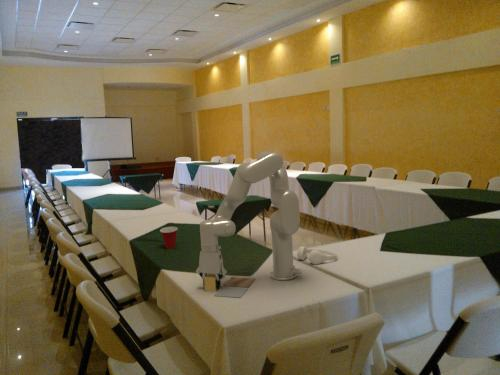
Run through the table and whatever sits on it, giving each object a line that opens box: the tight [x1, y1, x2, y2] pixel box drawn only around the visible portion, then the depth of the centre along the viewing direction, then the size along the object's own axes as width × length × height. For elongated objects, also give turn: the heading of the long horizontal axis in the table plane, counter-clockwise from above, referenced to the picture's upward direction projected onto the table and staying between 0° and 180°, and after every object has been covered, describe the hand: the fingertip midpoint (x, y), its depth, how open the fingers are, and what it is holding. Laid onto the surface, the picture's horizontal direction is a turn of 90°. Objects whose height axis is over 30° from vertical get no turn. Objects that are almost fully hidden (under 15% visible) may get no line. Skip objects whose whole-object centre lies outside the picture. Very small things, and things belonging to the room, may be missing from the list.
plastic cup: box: [159, 226, 179, 250], centre depth 258 cm, size 11×11×12 cm
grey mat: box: [213, 285, 249, 299], centre depth 183 cm, size 12×11×1 cm
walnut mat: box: [223, 276, 257, 289], centre depth 194 cm, size 12×11×1 cm
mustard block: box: [204, 274, 218, 292], centre depth 188 cm, size 5×5×6 cm
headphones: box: [296, 246, 338, 265], centre depth 223 cm, size 7×18×20 cm
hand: (212, 287), depth 188 cm, fingers closed on mustard block, 5 cm apart
